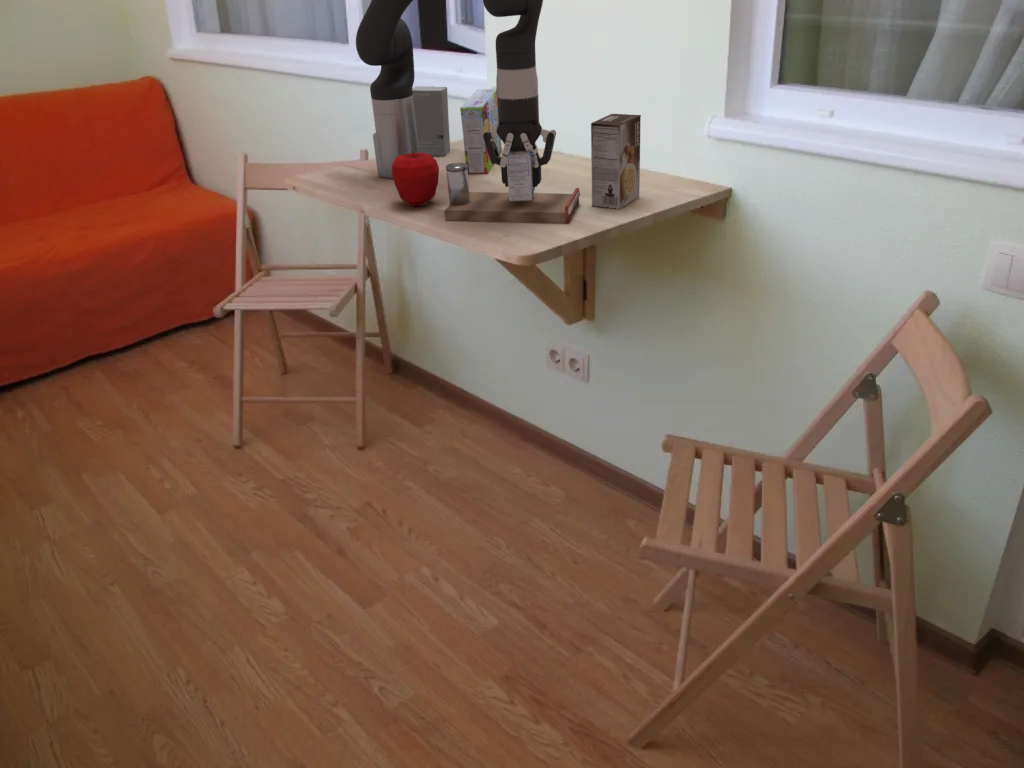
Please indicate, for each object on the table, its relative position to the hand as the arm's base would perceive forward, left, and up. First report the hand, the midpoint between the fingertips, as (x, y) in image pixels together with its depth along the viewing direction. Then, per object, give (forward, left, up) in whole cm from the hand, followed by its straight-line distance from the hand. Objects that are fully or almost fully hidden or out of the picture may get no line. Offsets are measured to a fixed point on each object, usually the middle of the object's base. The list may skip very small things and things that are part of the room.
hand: (521, 185), depth 157 cm
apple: (-23, +4, -5) cm, 24 cm away
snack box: (-18, +37, -6) cm, 41 cm away
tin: (-12, -1, -3) cm, 13 cm away
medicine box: (0, 0, -2) cm, 2 cm away
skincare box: (-33, +45, -5) cm, 56 cm away
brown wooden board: (-2, 0, -5) cm, 6 cm away
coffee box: (+17, +8, -5) cm, 20 cm away
